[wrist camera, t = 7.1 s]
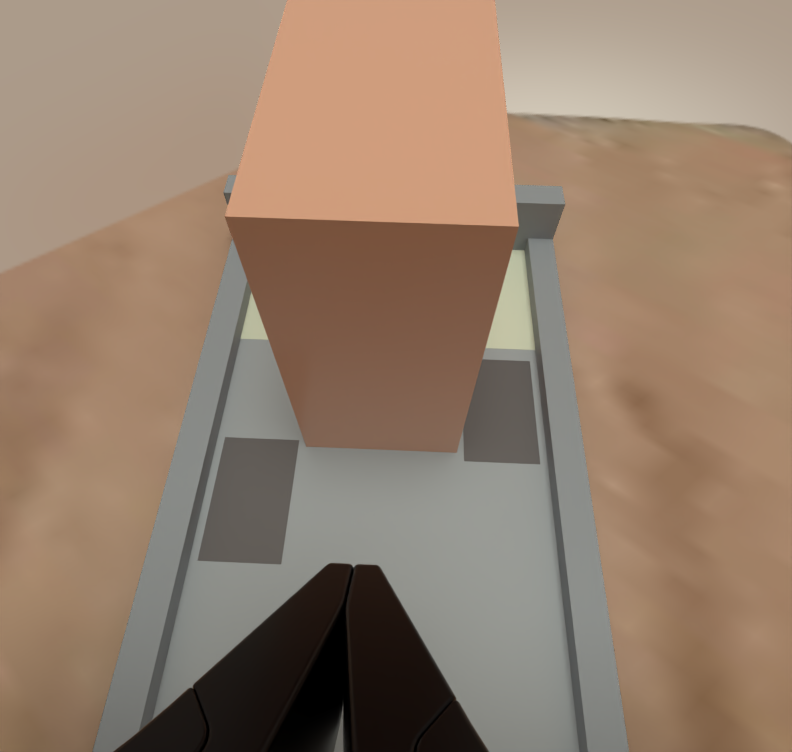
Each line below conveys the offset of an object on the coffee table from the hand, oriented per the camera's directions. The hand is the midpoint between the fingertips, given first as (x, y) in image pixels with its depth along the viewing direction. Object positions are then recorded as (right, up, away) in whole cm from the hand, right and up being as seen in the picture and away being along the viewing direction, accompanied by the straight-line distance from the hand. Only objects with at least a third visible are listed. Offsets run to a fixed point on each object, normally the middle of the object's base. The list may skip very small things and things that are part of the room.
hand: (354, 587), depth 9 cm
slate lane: (0, +1, +9) cm, 9 cm away
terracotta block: (0, +4, +11) cm, 12 cm away
